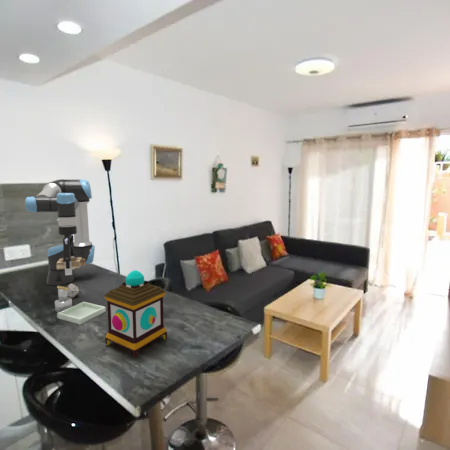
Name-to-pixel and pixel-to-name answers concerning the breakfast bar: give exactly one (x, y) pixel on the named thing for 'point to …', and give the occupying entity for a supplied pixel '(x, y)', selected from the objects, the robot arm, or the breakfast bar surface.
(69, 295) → the game die
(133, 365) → the breakfast bar surface
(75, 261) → the tan wooden square frame
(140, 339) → the decorative lantern
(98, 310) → the tray
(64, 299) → the grey piece
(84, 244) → the robot arm
